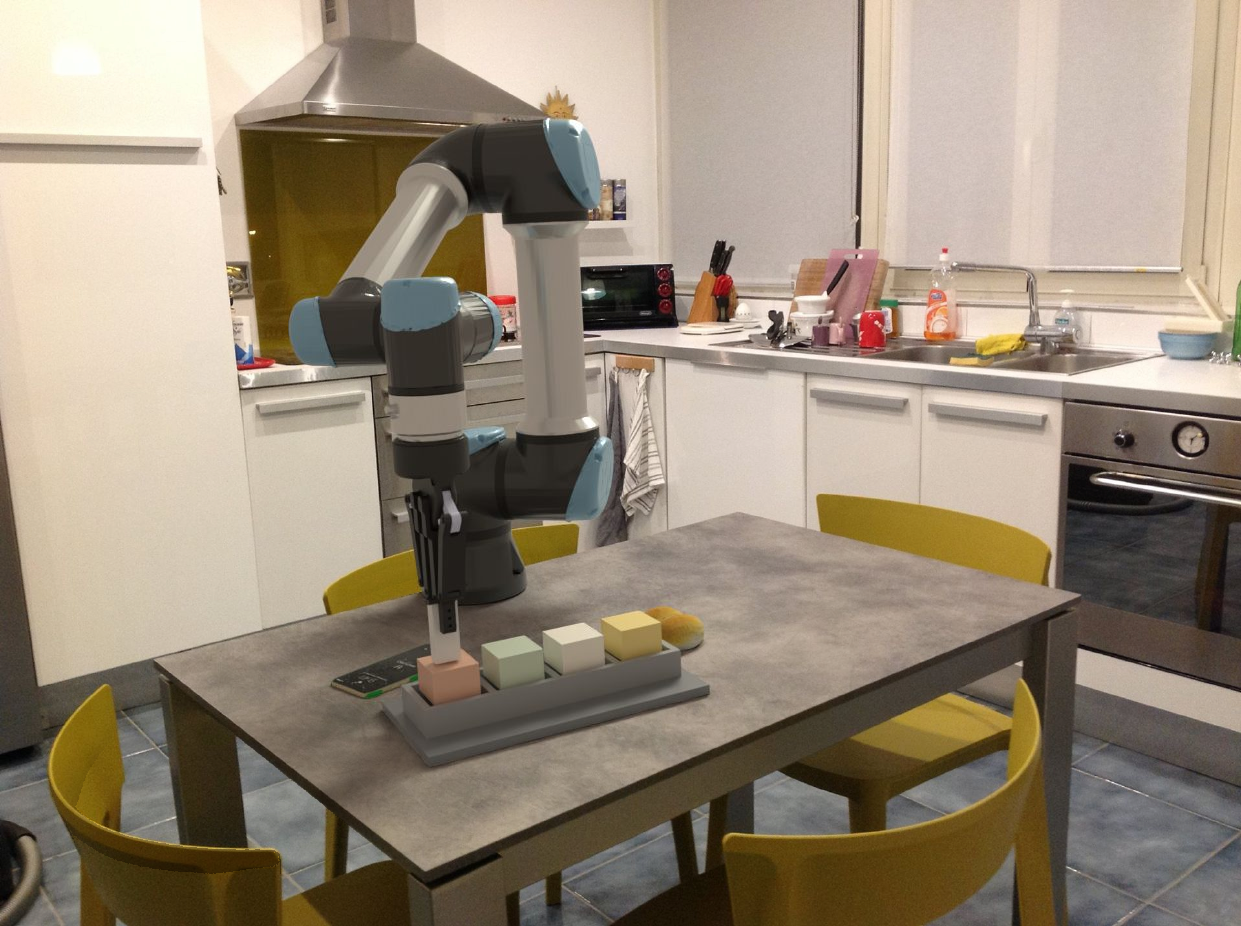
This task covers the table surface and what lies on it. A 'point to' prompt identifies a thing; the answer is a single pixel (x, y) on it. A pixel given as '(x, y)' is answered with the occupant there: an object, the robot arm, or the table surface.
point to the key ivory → (573, 648)
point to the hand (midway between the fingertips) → (446, 659)
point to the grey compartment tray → (540, 705)
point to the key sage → (512, 662)
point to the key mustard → (631, 635)
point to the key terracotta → (449, 679)
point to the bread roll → (678, 627)
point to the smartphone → (383, 674)
